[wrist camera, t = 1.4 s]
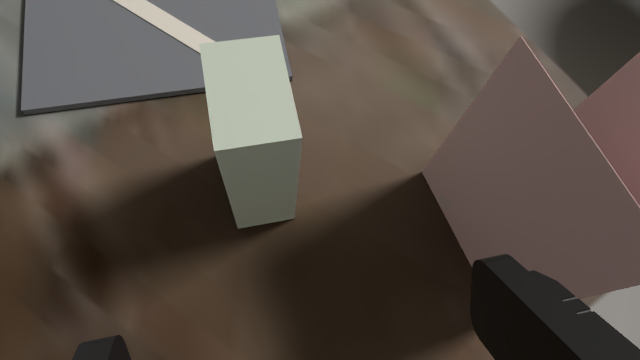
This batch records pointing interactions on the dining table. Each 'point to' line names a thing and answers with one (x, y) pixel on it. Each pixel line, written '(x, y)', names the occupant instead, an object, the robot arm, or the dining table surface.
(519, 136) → the greeting card
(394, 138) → the dining table surface
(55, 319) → the dining table surface
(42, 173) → the dining table surface
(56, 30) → the mat
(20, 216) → the dining table surface
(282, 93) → the sage block
